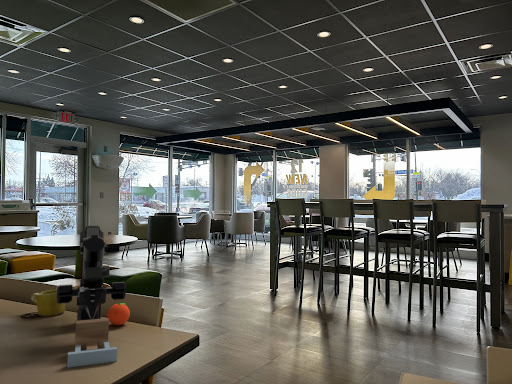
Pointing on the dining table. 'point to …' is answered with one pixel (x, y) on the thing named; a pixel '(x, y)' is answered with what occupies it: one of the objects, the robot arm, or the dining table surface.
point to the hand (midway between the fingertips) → (92, 318)
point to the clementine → (118, 314)
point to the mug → (47, 303)
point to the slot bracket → (92, 356)
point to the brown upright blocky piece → (92, 333)
